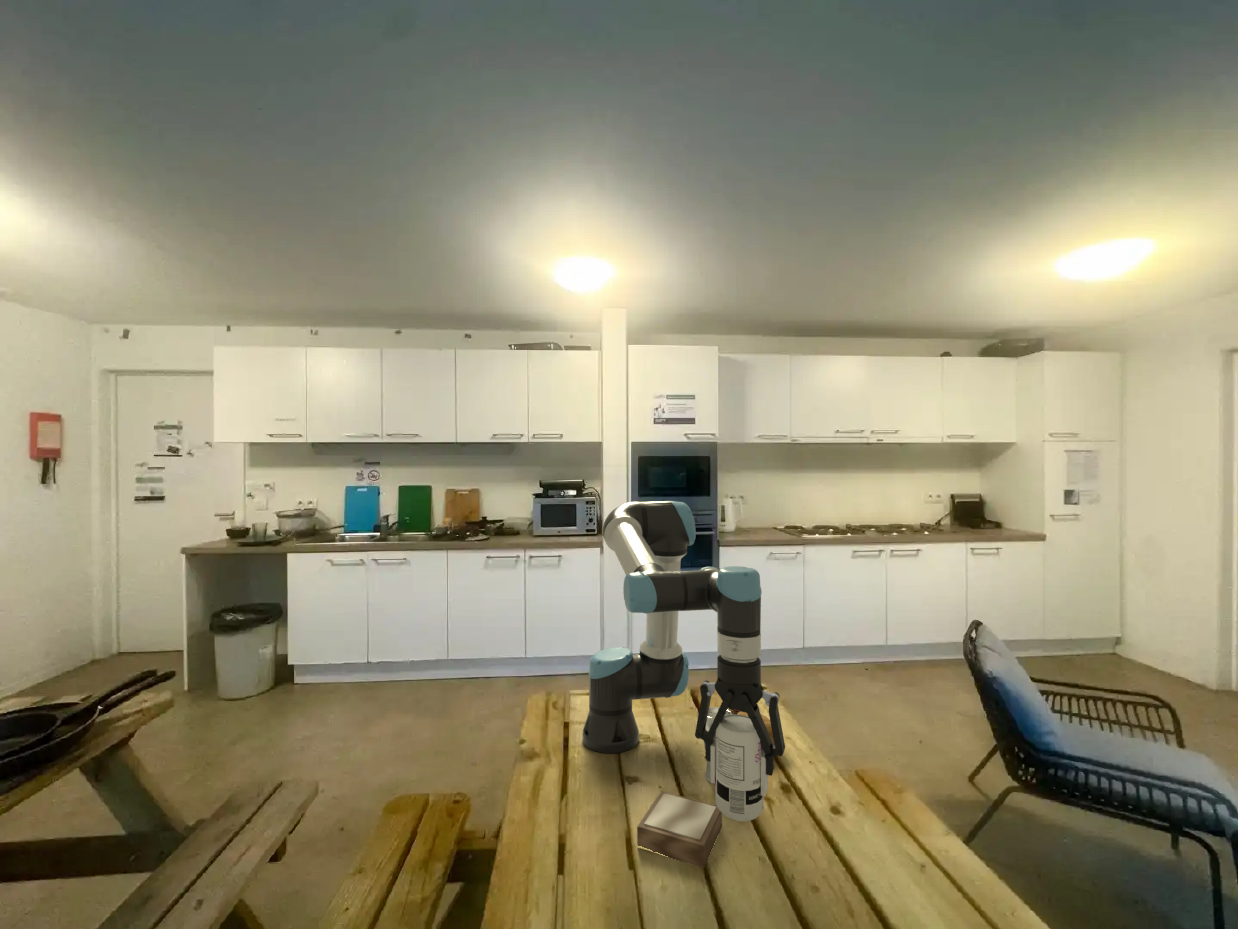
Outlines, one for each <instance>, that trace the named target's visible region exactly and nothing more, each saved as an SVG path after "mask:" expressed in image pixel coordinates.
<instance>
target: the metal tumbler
mask: <svg viewBox="0 0 1238 929" xmlns="http://www.w3.org/2000/svg"><path fill="white" fill-rule="evenodd" d="M719 708H720V706H711V707H710V706H709V712H708V717H707V723H706V728H705V730H707V731H709V729H710V727H711V725H712V723H713V721H714V719H715V716H716V714H717V712H718V710H719ZM726 715H733V714H732V711H730V709H728V710H727V712H726V714H725V716H726ZM714 739H716V735H715V737H714ZM703 745H704V747H705V742H704V741H703ZM704 778H705V780H707V782H709V783H711V762H710V761H706V766H705V773H704ZM714 785H716V782H715V784H714Z"/></svg>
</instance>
